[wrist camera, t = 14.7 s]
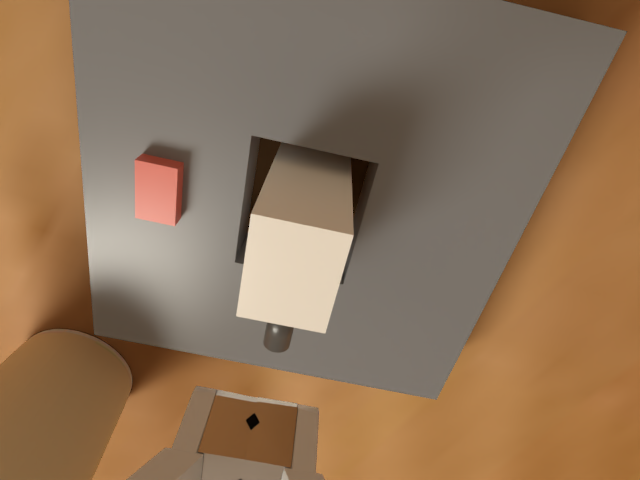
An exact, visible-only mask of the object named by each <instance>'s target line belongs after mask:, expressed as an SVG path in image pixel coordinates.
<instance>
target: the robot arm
mask: <svg viewBox="0 0 640 480" xmlns="http://www.w3.org/2000/svg"><path fill="white" fill-rule="evenodd" d="M318 423H319V410H318V408H317V407H311V406H305V405H299V404H298V405H297V403H291V402H285V401H278V400H272V399H266V398H260V397H258V398H255V397H250V396H245V395H241V394H236V393H231V392H226V391H221V390H216V389H211V388H206V387H200V386H196V388H195V389H194V391H193V393H192V396H191V398H190V401H189V404H188V406H187V409H186V412H185V414H184V417H183V420H182V422H181V425H180V427H179V430H178V433H177V435H176V438H175V441H174V443H173V446H172V449H171V448H164V449H163V450H162V451H160V452H159V453H158V454H157V455H156V456H154V457H153V458H152V459H151V460H150V461H148V462H147V463H146V464H145V465H143V466H142V467H141V468H140V469H139V470H137V471H136V472H135V473H134V474H133V475H131V476H130V477H129V478H128V479H126V480H325V479H324V477H323V475H322V474H319V473H316V460H317V442H318Z"/></svg>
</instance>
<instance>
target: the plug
mask: <svg viewBox="0 0 640 480" xmlns="http://www.w3.org/2000/svg"><path fill="white" fill-rule="evenodd" d="M353 236H354V228H353V200H352V173H351V157H347V156H342V155H338V154H333V153H329V152H324V151H320V150H315V149H311V148H306V147H302V146H297V145H293V144H288V143H284V142H281V144H280V147H279V149H278V151H277V154H276V156H275V158H274V161H273V163H272V165H271V168H270V170H269V172H268V175H267V177H266V179H265V182H264V184H263V186H262V189H261V191H260V193H259V196H258V198H257V201H256V203H255V205H254V208H253V210H252V212H251V216H250V223H249V230H248V237H247V244H246V251H245V258H244V265H243V272H242V279H241V286H240V292H239V299H238V306H237V313H236V316H237V317H242V318H247V319H253V320H258V321H263V322H267V323H266V329H265V334H264V339H263V344H264V346H265V348H266V349H268V350H269V351H271V352H275V353H281V352H285V351H286V350H288V348H289V347H290V343H291V338H292V334H293V330H294V328H299V329H304V330H309V331H314V332H319V333H324V334H325V333H326V330H327V326H328V323H329V319H330V316H331V312H332V309H333V305H334V302H335V298H336V295H337V292H338V288H339V285H340V281H341V278H342V274H343V271H344V267H345V264H346V260H347V257H348V253H349V250H350V247H351V243H352V240H353Z"/></svg>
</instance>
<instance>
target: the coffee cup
mask: <svg viewBox="0 0 640 480" xmlns="http://www.w3.org/2000/svg"><path fill="white" fill-rule="evenodd" d="M131 388H132V374H131V371H130V368H129V366H128V364H127V363H126V361H125V360H124V359H123V357H122V356H121V355H120V354H119V353H118V352H117V351H116V350H115V349H114V348H112V347H111V346H110V345H108V344H107V343H105V342H103V341H102V340H100V339H98V338H96V337H94V336H91V335H89V334H86V333H83V332H80V331H75V330H69V329H51V330H46V331H42V332H40V333H38V334H36V335H34V336H32V337H31V338H29V339H28V340H27V341H26V342H25V343H24V344H22V345H21V346H20V347H19V348H18V349H17V350H16V351H14V352H13V353H12V354H11V355H10V356H9V357H8V358H7V359H6V360H5V361H4V362H3V363H2V364H0V480H92V478H93V476H94V474H95V471H96V469H97V467H98V465H99V462H100V460H101V458H102V456H103V453H104V451H105V449H106V447H107V444H108V442H109V440H110V438H111V435H112V433H113V431H114V429H115V426H116V424H117V422H118V420H119V417H120V415H121V413H122V411H123V408H124V406H125V404H126V401H127V399H128V396H129V394H130V391H131Z"/></svg>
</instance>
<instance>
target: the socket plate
mask: <svg viewBox="0 0 640 480" xmlns="http://www.w3.org/2000/svg"><path fill="white" fill-rule="evenodd" d="M69 6H70V19H71V33H72V46H73V59H74V73H75V86H76V99H77V113H78V126H79V139H80V153H81V166H82V179H83V193H84V206H85V220H86V233H87V246H88V260H89V273H90V286H91V300H92V313H93V326H94V335H99V336H104V337H109V338H115V339H120V340H125V341H130V342H136V343H141V344H146V345H151V346H157V347H162V348H167V349H172V350H178V351H183V352H188V353H194V354H199V355H204V356H209V357H215V358H220V359H225V360H230V361H236V362H241V363H246V364H251V365H257V366H262V367H267V368H272V369H278V370H283V371H288V372H294V373H299V374H304V375H309V376H315V377H320V378H325V379H330V380H336V381H341V382H346V383H351V384H357V385H362V386H367V387H373V388H378V389H383V390H388V391H394V392H399V393H404V394H409V395H415V396H420V397H425V398H430V399H436V400H437V398H438V396H439V394H440V392H441V390H442V388H443V386H444V384H445V382H446V380H447V378H448V376H449V374H450V372H451V371H452V369H453V367H454V365H455V363H456V361H457V359H458V357H459V355H460V353H461V351H462V349H463V347H464V345H465V344H466V342H467V340H468V338H469V336H470V334H471V332H472V330H473V328H474V326H475V324H476V322H477V320H478V318H479V317H480V315H481V313H482V311H483V309H484V307H485V305H486V303H487V301H488V299H489V297H490V295H491V293H492V291H493V289H494V288H495V286H496V284H497V282H498V280H499V278H500V276H501V274H502V272H503V270H504V268H505V266H506V264H507V262H508V261H509V259H510V257H511V255H512V253H513V251H514V249H515V247H516V245H517V243H518V241H519V239H520V237H521V235H522V234H523V232H524V230H525V228H526V226H527V224H528V222H529V220H530V218H531V216H532V214H533V212H534V210H535V208H536V206H537V205H538V203H539V201H540V199H541V197H542V195H543V193H544V191H545V189H546V187H547V185H548V183H549V181H550V179H551V178H552V176H553V174H554V172H555V170H556V168H557V166H558V164H559V162H560V160H561V158H562V156H563V154H564V152H565V151H566V149H567V147H568V145H569V143H570V141H571V139H572V137H573V135H574V133H575V131H576V129H577V127H578V125H579V123H580V122H581V120H582V118H583V116H584V114H585V112H586V110H587V108H588V106H589V104H590V102H591V100H592V98H593V96H594V95H595V93H596V91H597V89H598V87H599V85H600V83H601V81H602V79H603V77H604V75H605V73H606V71H607V69H608V68H609V66H610V64H611V62H612V60H613V58H614V56H615V54H616V52H617V50H618V48H619V46H620V44H621V42H622V40H623V39H624V37H625V35H626V33H627V31H623V30H619V29H615V28H611V27H607V26H603V25H599V24H595V23H591V22H587V21H583V20H579V19H575V18H571V17H567V16H563V15H559V14H555V13H551V12H547V11H543V10H539V9H535V8H531V7H527V6H523V5H519V4H515V3H511V2H507V1H503V0H69ZM260 138H265V139H270V140H275V141H279V142H284V143H288V144H293V145H297V146H302V147H306V148H311V149H315V150H320V151H324V152H329V153H333V154H338V155H342V156H347V157H351V158H356V159H360V160H365V161H369V165H368V168H367V172H366V175H365V179H364V182H363V186H362V190H361V193H360V197H359V200H358V204H357V207H356V211H355V214H354V218H353V228H354V236H353V240H352V243H351V247H350V250H349V253H348V257H347V260H346V264H345V267H344V271H343V274H342V278H341V281H340V285H339V288H338V292H337V295H336V298H335V302H334V305H333V309H332V312H331V316H330V319H329V323H328V326H327V330H326V333H325V334H324V333H319V332H314V331H309V330H304V329H299V328H294V330H293V334H292V338H291V343H290V347H289V348H288V350H286V351H285V352H281V353H275V352H271V351H269V350H268V349H266V348H265V346H264V344H263V339H264V334H265V329H266V323H267V322H263V321H258V320H253V319H247V318H242V317H237V316H236V313H237V306H238V299H239V292H240V286H241V279H242V272H243V265H244V258H245V251H246V244H247V237H248V233H247V229H248V222H249V215H250V208H251V201H252V194H253V187H254V180H255V173H256V166H257V159H258V152H259V145H260Z"/></svg>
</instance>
